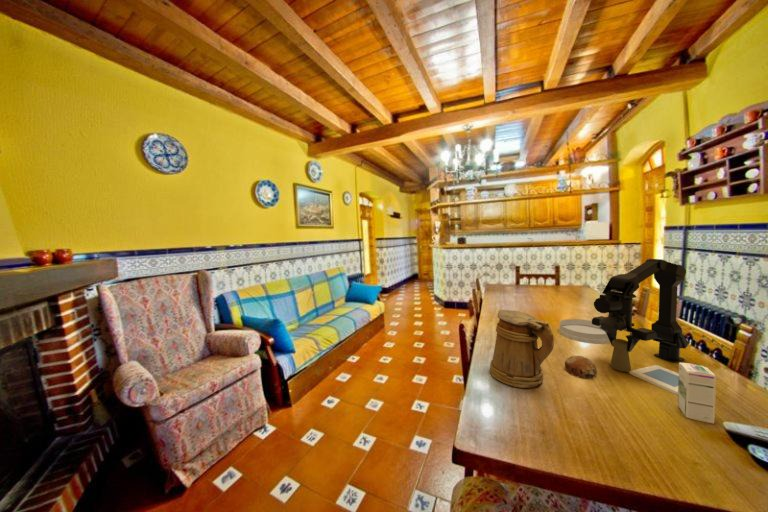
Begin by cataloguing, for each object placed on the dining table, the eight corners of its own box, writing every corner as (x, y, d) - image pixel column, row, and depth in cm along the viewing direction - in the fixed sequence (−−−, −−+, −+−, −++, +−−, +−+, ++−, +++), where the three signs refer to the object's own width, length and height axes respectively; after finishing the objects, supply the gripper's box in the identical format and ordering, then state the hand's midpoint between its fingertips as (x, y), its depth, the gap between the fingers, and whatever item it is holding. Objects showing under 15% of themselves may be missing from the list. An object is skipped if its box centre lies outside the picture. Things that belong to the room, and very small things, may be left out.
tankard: (506, 359, 114) (505, 304, 112) (566, 383, 94) (567, 317, 92) (480, 372, 104) (479, 313, 102) (541, 403, 85) (540, 330, 82)
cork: (635, 371, 97) (636, 343, 96) (616, 370, 98) (617, 343, 97) (623, 363, 103) (624, 337, 102) (606, 363, 104) (607, 336, 103)
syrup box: (715, 424, 72) (718, 375, 71) (684, 417, 75) (686, 370, 74) (704, 412, 77) (707, 365, 75) (676, 406, 80) (678, 361, 79)
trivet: (655, 367, 101) (655, 364, 101) (707, 387, 88) (707, 384, 88) (629, 373, 98) (629, 371, 98) (679, 395, 84) (679, 392, 84)
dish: (625, 343, 123) (626, 333, 122) (579, 345, 123) (579, 335, 123) (589, 326, 145) (589, 317, 144) (549, 328, 145) (549, 320, 145)
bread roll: (593, 378, 102) (591, 357, 104) (602, 381, 93) (599, 357, 96) (563, 374, 106) (562, 353, 109) (569, 376, 97) (567, 353, 100)
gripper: (581, 305, 106) (581, 342, 107) (635, 320, 88) (634, 363, 89) (602, 302, 108) (601, 338, 110) (658, 315, 90) (657, 358, 92)
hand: (620, 348), depth 100 cm, fingers closed on cork, 5 cm apart
